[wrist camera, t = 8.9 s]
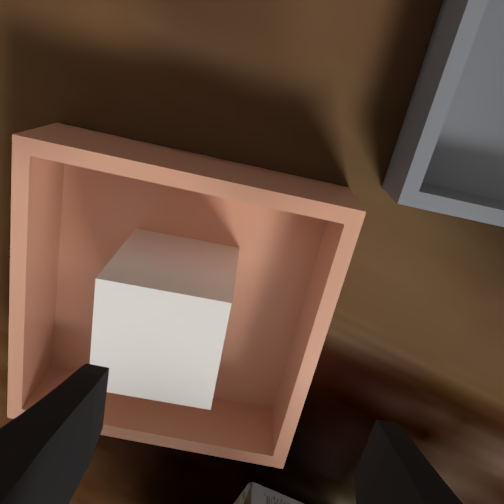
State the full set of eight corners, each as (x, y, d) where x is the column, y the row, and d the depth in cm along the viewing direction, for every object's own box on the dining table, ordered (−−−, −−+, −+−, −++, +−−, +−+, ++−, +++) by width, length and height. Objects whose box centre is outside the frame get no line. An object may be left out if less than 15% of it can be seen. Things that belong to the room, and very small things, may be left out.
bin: (349, 187, 19) (366, 211, 16) (280, 413, 24) (283, 469, 20) (56, 122, 18) (12, 134, 15) (43, 368, 23) (7, 417, 20)
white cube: (239, 247, 20) (231, 303, 15) (222, 335, 21) (210, 410, 17) (136, 228, 20) (95, 278, 15) (127, 318, 21) (88, 388, 17)
